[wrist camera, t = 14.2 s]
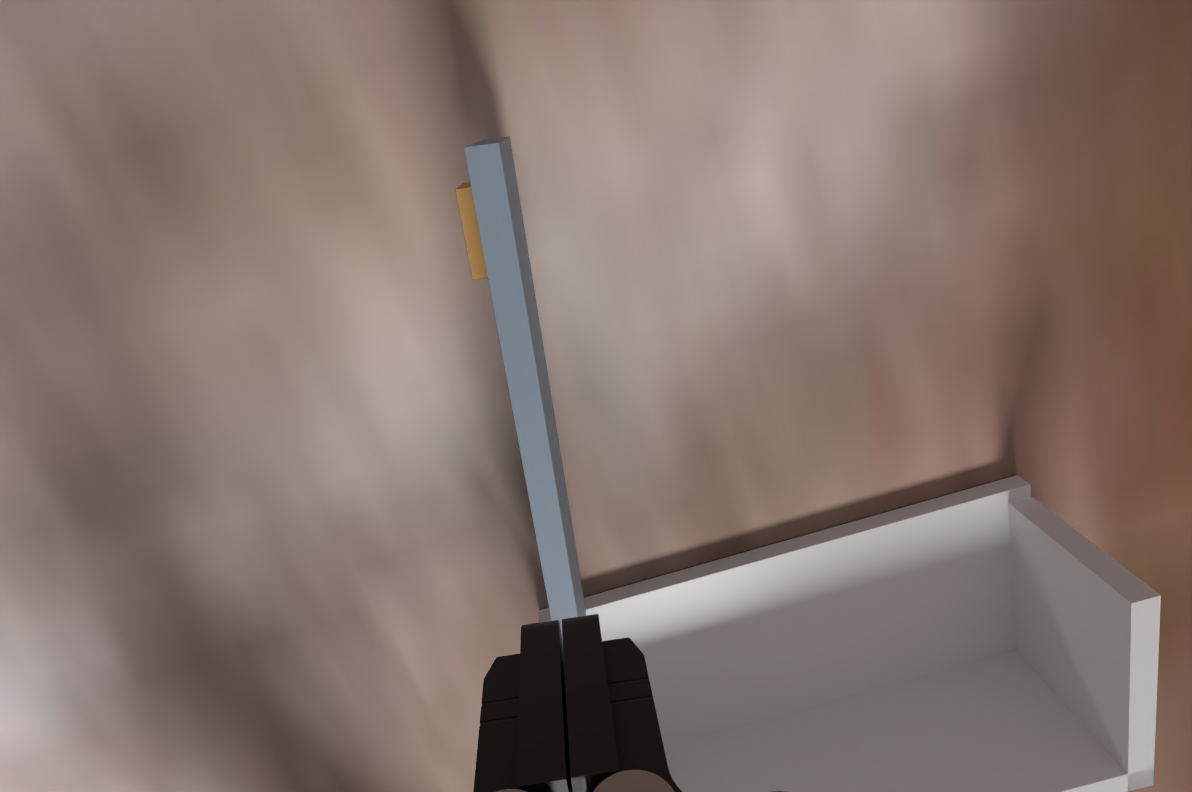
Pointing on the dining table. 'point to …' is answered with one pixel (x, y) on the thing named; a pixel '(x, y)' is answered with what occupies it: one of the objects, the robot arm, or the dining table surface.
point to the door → (522, 359)
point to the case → (903, 656)
